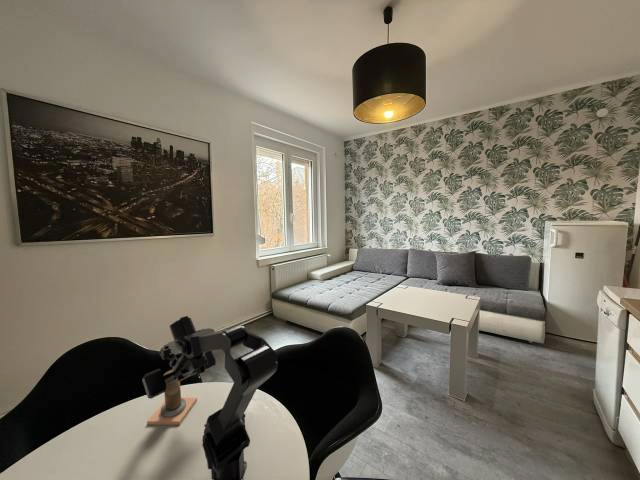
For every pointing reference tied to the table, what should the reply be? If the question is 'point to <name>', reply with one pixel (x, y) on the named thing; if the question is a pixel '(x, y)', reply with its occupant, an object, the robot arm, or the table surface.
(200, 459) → the table surface
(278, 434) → the table surface
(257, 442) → the table surface
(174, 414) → the tamper
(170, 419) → the tile rest
